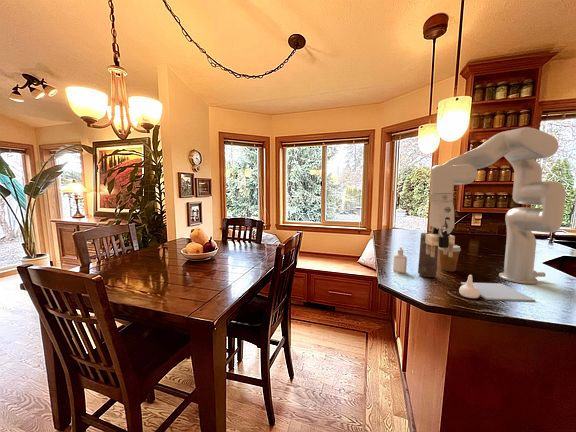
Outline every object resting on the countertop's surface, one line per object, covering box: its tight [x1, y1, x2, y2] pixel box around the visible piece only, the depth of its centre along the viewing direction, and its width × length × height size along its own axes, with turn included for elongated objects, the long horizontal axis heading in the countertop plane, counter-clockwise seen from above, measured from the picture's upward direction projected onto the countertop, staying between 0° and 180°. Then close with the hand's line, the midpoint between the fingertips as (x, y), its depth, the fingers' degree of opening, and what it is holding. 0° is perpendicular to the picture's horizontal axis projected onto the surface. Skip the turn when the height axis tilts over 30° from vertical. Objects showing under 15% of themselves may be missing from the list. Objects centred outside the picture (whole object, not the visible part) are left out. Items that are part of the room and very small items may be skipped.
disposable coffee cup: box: [438, 244, 462, 272], centre depth 125 cm, size 10×10×12 cm
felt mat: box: [460, 281, 536, 302], centre depth 97 cm, size 16×16×1 cm
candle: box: [417, 232, 439, 278], centre depth 114 cm, size 8×7×20 cm
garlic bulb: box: [458, 274, 481, 299], centre depth 94 cm, size 6×6×8 cm
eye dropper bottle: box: [392, 246, 408, 274], centre depth 121 cm, size 4×6×12 cm
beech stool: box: [425, 233, 456, 257], centre depth 97 cm, size 8×6×8 cm
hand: (439, 245), depth 97 cm, fingers closed on beech stool, 5 cm apart
